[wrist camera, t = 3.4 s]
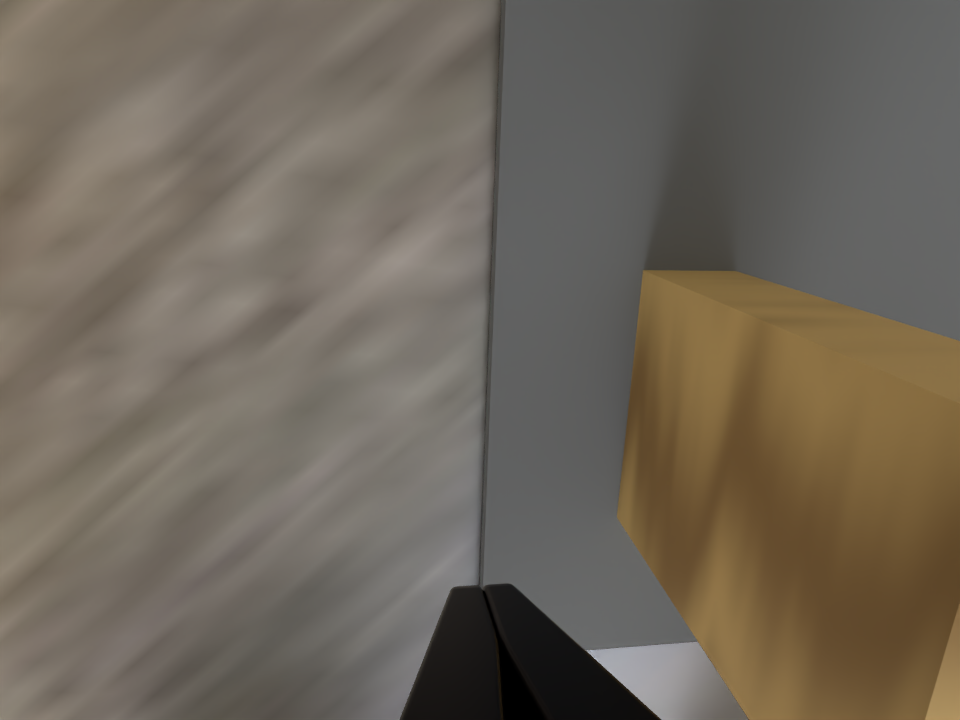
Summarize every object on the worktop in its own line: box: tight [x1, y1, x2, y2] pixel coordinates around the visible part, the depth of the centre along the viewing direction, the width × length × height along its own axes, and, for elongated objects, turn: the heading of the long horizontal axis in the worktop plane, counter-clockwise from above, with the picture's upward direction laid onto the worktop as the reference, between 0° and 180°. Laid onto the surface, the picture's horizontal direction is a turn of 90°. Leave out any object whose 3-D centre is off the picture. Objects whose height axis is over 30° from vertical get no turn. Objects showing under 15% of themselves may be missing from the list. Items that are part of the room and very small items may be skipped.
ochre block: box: [617, 270, 960, 720], centre depth 13 cm, size 7×2×10 cm, turn 178°
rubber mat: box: [480, 0, 960, 650], centre depth 18 cm, size 18×18×1 cm
